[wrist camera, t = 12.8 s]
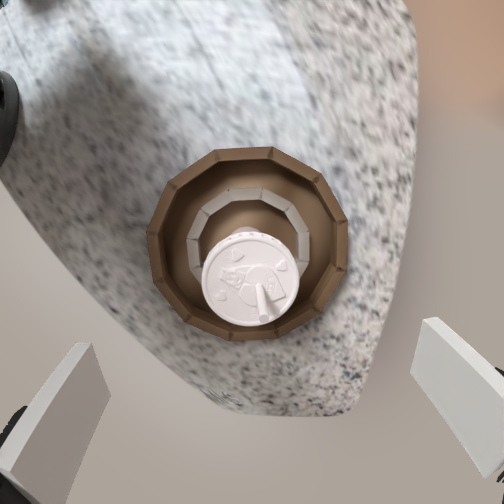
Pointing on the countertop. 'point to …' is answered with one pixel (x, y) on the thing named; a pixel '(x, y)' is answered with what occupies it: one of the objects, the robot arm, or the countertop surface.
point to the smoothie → (250, 278)
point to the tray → (247, 215)
